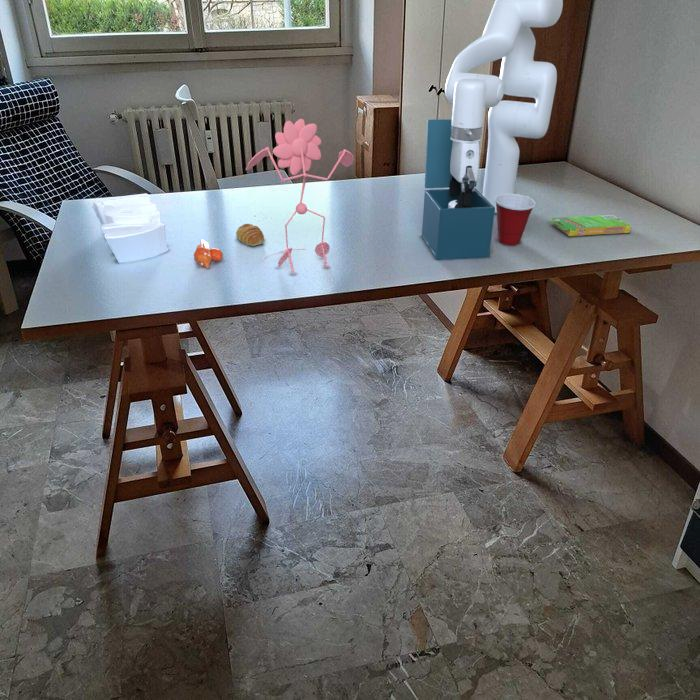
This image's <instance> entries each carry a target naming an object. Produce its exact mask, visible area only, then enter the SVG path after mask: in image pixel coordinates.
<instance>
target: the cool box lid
mask: <svg viewBox="0 0 700 700" xmlns="http://www.w3.org/2000/svg"><path fill="white" fill-rule="evenodd" d="M426 122H427V123H426V144H425V145H426V147H425V166H424V167H425V169H424V170H425V171H424V189H449V185H450V175H451V173H450V160H451V151H452V144H453V141H452V140H451V139H450V136H451V124H452V118H446V119H445V118H443V119H442V118H441V119H439V118H438V119H427V120H426ZM463 180H468V179H463ZM464 186H466V184H464ZM476 187H477V182H474V188H476Z"/></svg>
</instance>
